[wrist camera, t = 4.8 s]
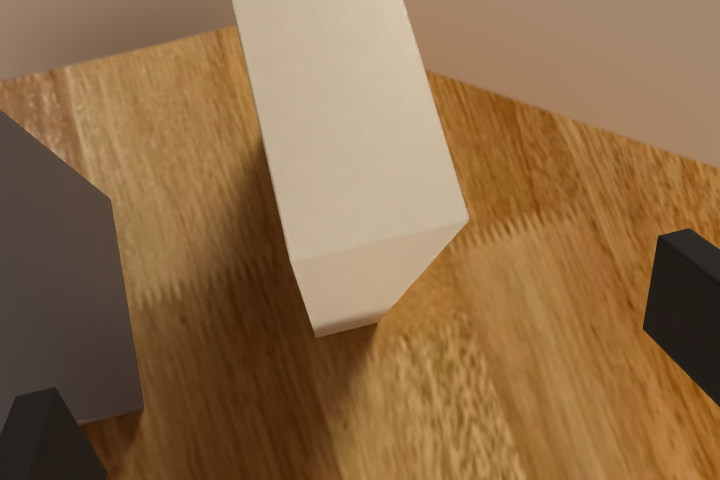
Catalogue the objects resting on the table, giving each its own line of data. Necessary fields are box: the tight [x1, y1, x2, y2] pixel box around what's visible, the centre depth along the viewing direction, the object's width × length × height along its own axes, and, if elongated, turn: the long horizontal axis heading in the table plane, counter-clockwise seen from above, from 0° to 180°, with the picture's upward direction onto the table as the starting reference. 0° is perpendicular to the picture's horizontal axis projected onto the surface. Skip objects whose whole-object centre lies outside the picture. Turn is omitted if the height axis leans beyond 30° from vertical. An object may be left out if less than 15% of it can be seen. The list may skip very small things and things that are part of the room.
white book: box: [231, 0, 469, 338], centre depth 19 cm, size 3×11×18 cm, turn 14°
